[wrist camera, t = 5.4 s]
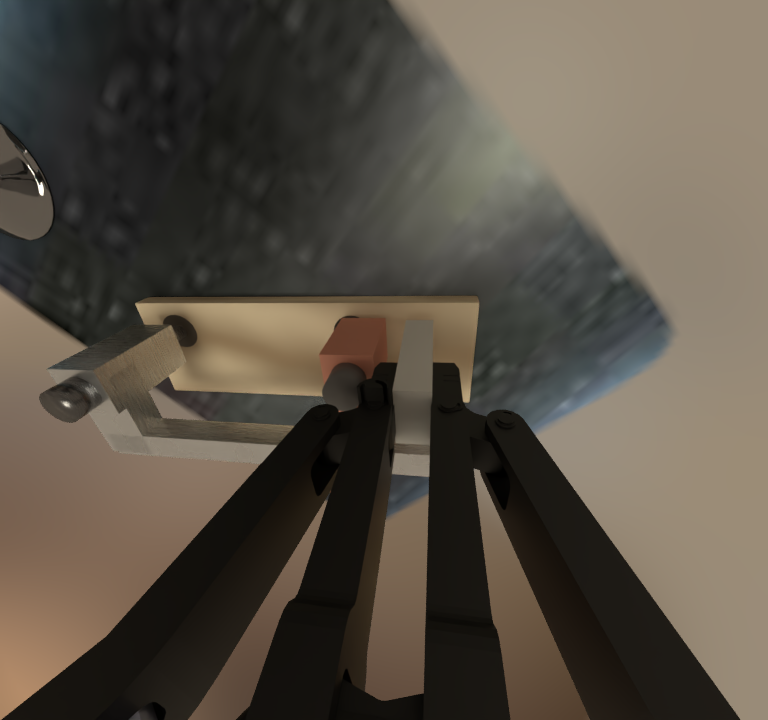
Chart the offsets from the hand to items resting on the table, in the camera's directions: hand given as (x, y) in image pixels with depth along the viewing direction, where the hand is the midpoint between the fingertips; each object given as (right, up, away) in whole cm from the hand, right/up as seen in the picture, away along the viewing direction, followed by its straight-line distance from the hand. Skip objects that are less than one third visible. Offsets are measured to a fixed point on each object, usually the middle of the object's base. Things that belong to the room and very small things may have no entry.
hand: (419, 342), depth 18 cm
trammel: (-7, -1, +3) cm, 8 cm away
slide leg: (-3, -2, +3) cm, 5 cm away
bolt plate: (-7, 0, +4) cm, 8 cm away
